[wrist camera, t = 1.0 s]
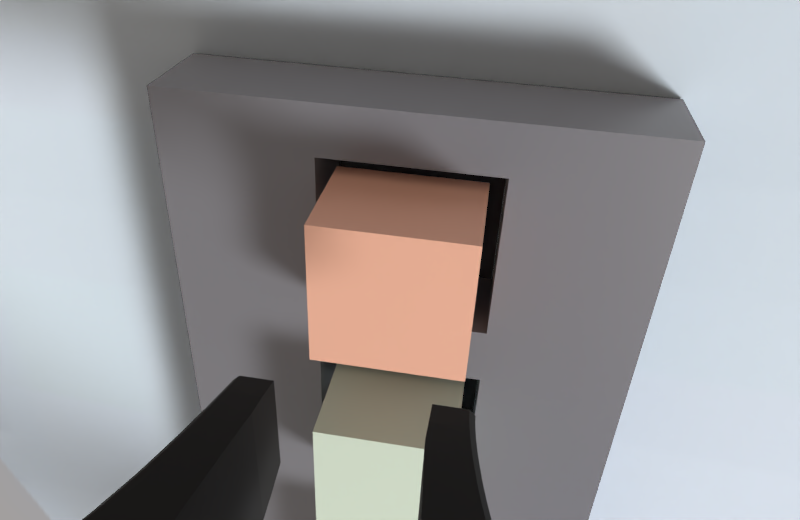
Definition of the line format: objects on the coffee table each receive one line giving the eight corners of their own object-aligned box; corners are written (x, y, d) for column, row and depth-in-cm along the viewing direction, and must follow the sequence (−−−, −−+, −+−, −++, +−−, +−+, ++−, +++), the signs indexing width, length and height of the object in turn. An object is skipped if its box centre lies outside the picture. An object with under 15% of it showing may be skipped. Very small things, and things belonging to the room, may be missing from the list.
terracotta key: (473, 307, 18) (464, 381, 15) (338, 289, 18) (309, 359, 16) (490, 182, 16) (482, 246, 13) (337, 165, 16) (303, 225, 14)
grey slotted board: (550, 572, 26) (551, 637, 24) (251, 521, 28) (228, 578, 26) (682, 99, 16) (705, 141, 14) (193, 53, 17) (146, 85, 15)
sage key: (454, 462, 21) (444, 543, 19) (339, 444, 21) (316, 521, 19) (465, 376, 19) (455, 454, 17) (338, 358, 19) (312, 431, 17)
